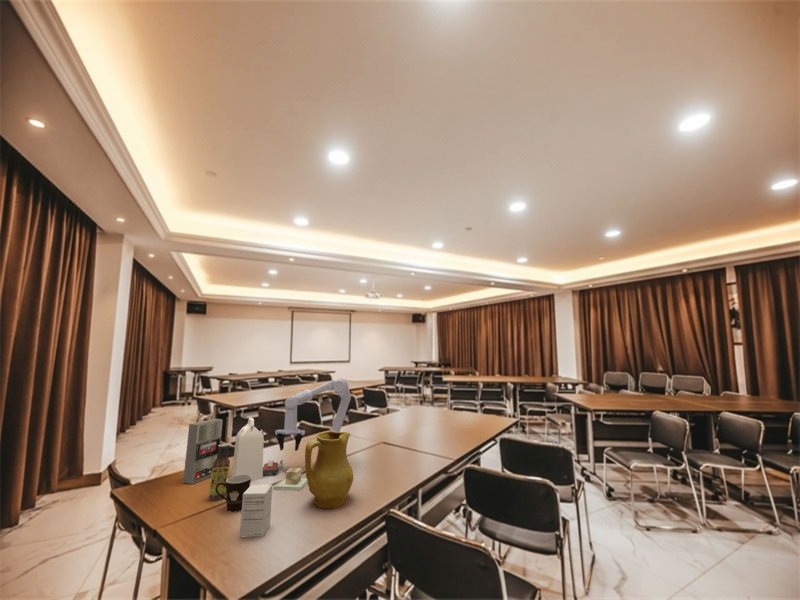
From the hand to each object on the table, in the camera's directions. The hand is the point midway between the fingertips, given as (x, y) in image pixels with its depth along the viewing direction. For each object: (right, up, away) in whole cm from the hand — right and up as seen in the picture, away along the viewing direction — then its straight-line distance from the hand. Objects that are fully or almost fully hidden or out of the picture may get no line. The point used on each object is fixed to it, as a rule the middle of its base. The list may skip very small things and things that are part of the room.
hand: (289, 450), depth 158 cm
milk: (-17, -9, -8) cm, 21 cm away
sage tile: (+8, -7, -17) cm, 20 cm away
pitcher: (+27, -4, -34) cm, 44 cm away
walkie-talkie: (-9, -11, +1) cm, 14 cm away
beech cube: (+8, -6, -17) cm, 20 cm away
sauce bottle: (-18, -5, -31) cm, 36 cm away
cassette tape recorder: (-37, -9, -10) cm, 39 cm away
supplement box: (+8, -1, -55) cm, 56 cm away
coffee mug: (-7, -3, -39) cm, 40 cm away
